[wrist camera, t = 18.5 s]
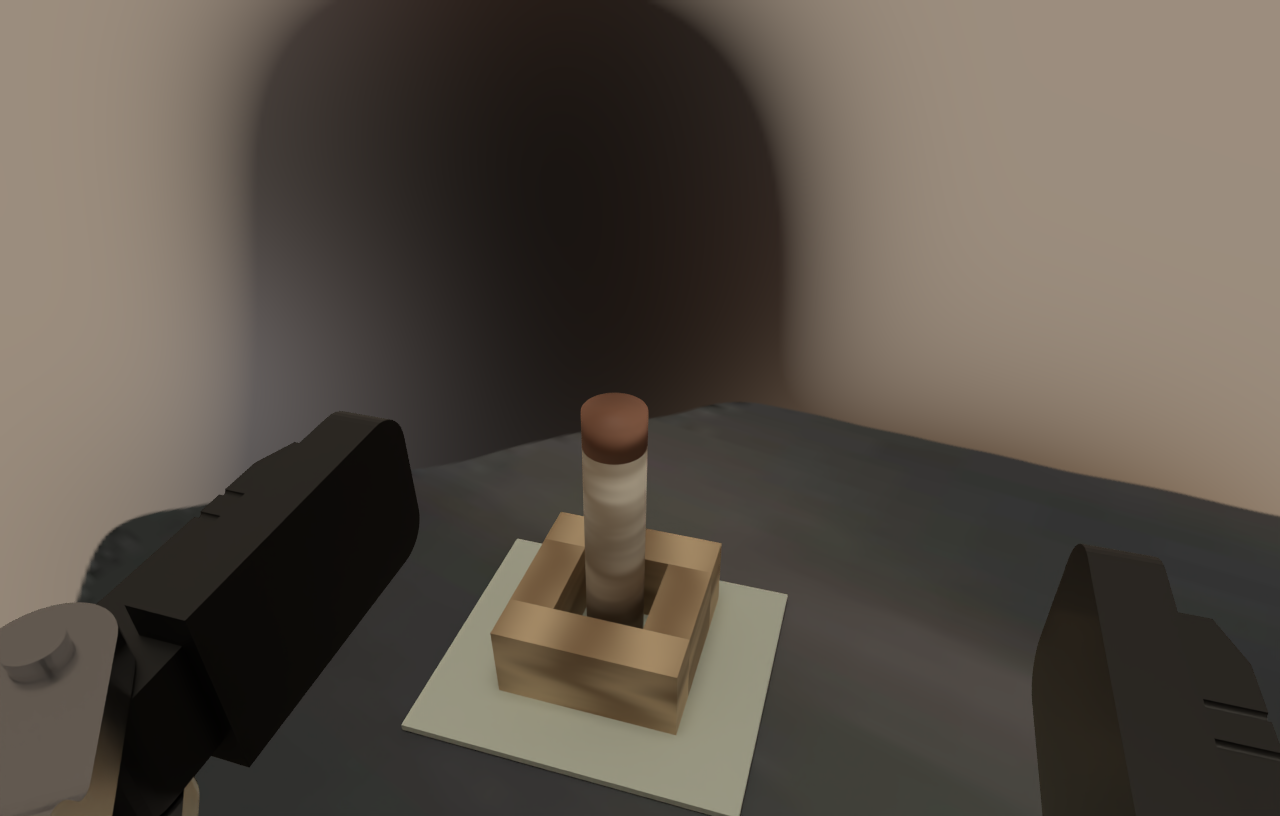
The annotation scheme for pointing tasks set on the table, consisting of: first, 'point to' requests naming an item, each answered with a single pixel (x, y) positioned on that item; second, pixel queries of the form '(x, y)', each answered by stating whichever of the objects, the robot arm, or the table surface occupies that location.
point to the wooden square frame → (609, 631)
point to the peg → (615, 506)
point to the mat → (606, 748)
